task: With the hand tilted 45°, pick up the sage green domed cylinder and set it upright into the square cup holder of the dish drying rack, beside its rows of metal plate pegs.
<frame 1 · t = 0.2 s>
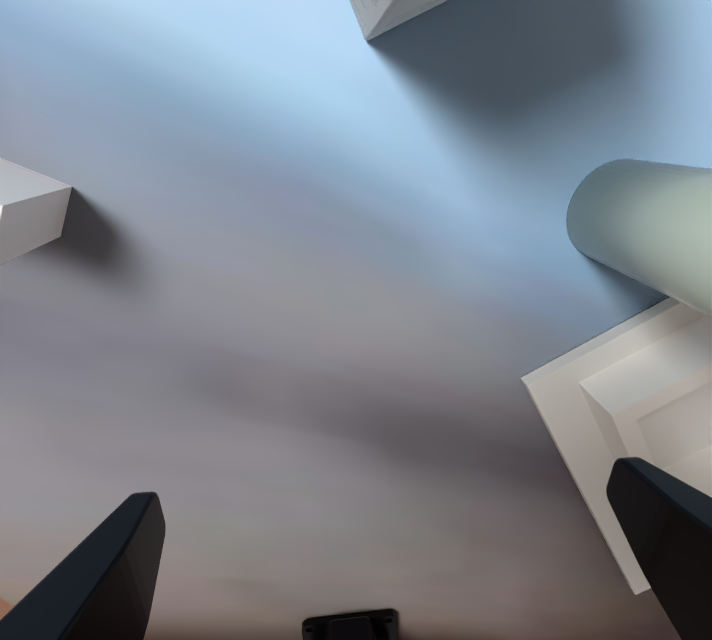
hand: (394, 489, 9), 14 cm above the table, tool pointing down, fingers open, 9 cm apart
sage green domed cylinder: (614, 211, 22), on the table
dish drying rack: (676, 395, 27), on the table
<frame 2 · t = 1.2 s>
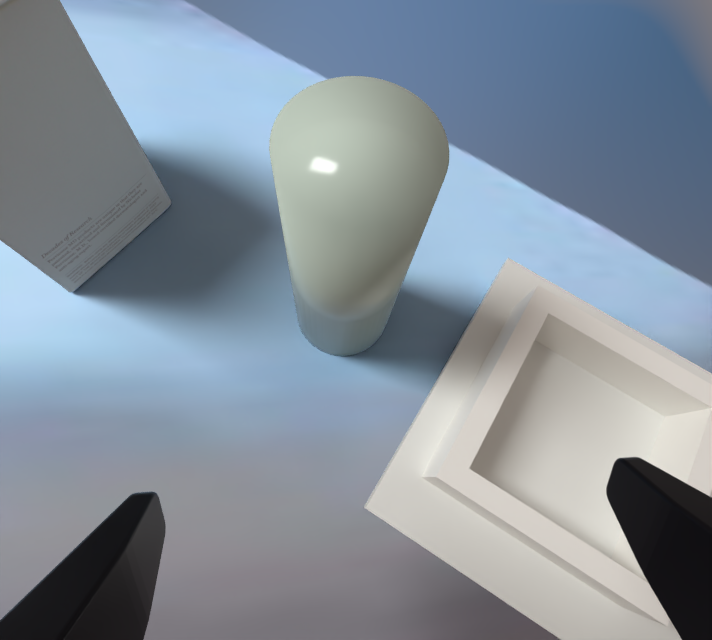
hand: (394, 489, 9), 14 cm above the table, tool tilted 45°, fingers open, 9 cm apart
sage green domed cylinder: (342, 312, 25), on the table
dish drying rack: (553, 443, 23), on the table
supplement box: (82, 212, 26), on the table
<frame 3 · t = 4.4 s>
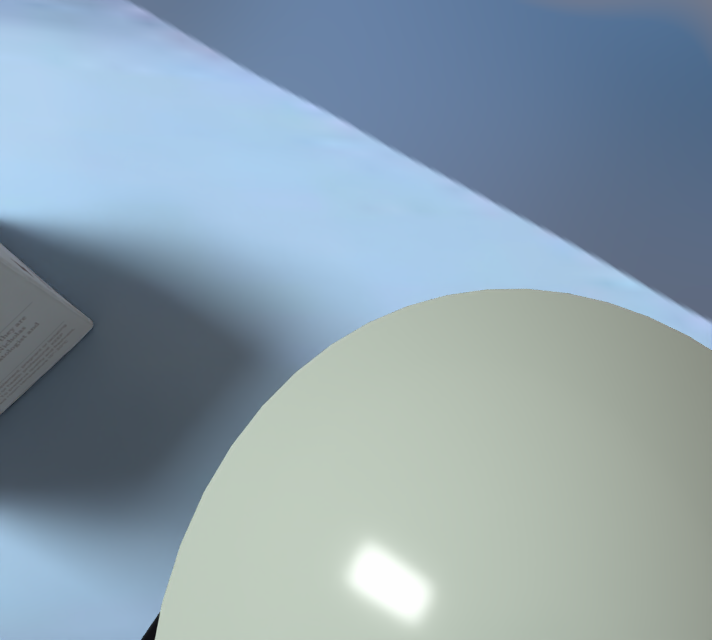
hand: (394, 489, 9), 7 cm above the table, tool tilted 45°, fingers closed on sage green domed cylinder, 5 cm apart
sage green domed cylinder: (367, 513, 15), on the table, touching gripper
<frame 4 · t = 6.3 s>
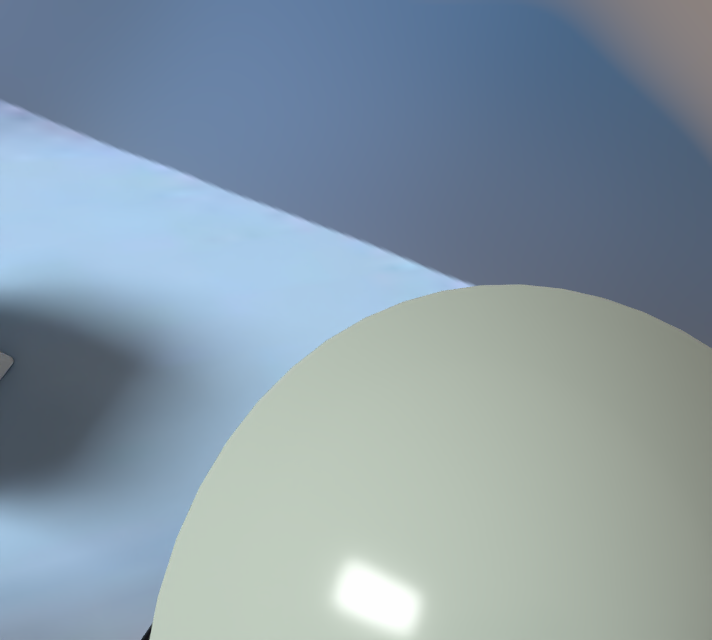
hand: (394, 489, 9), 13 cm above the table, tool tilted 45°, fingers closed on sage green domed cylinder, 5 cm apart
sage green domed cylinder: (366, 512, 15), point 7 cm above the table, touching gripper
when the fingers open (9 cm above the table, at t = 8.4 s): sage green domed cylinder drops 1 cm, resting on dish drying rack.
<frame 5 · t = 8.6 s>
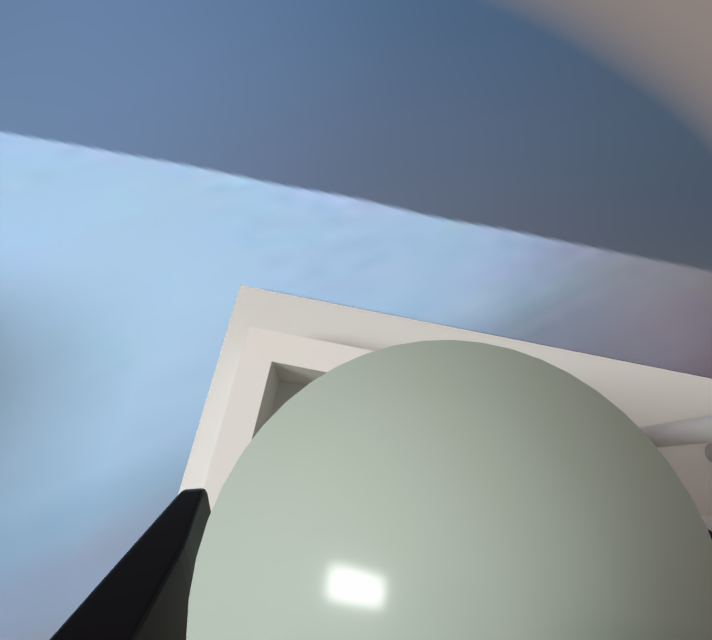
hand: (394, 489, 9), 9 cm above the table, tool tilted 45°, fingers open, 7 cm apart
sage green domed cylinder: (366, 512, 16), point 1 cm above the table, touching dish drying rack
dish drying rack: (362, 510, 17), on the table
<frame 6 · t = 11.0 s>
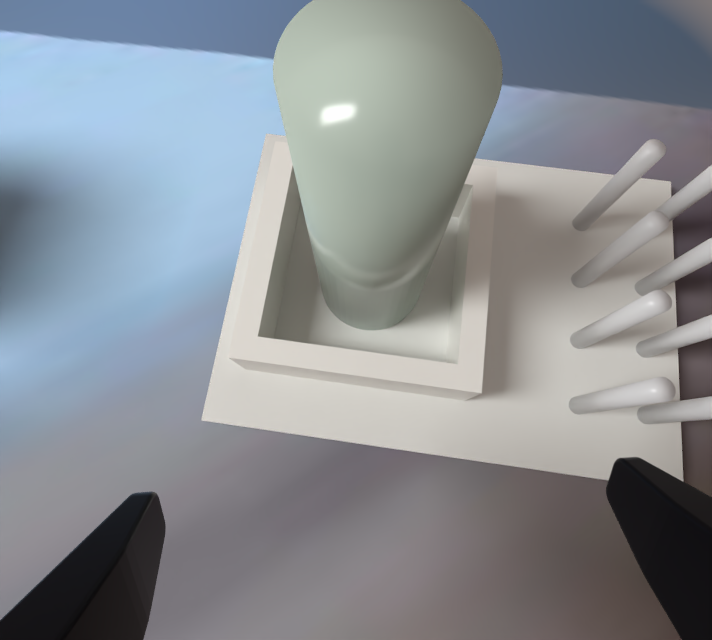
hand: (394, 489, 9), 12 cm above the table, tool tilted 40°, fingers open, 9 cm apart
sage green domed cylinder: (371, 282, 22), point 1 cm above the table, touching dish drying rack
dish drying rack: (368, 287, 23), on the table
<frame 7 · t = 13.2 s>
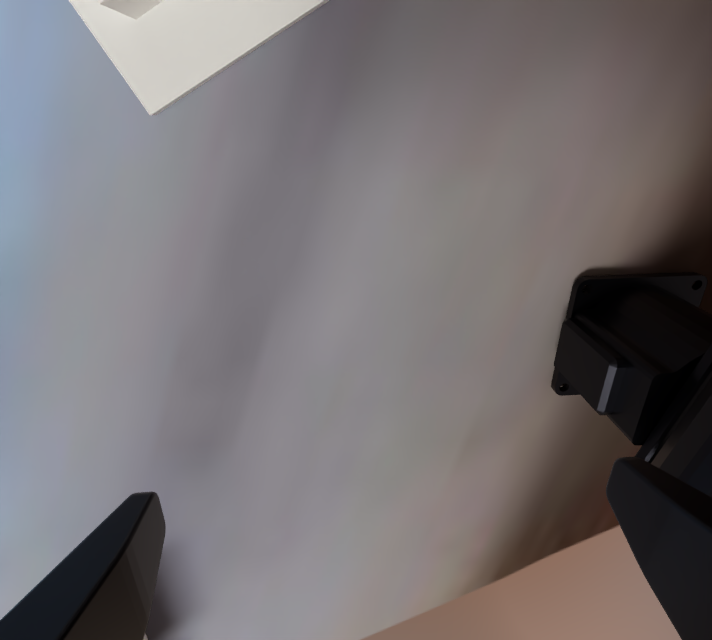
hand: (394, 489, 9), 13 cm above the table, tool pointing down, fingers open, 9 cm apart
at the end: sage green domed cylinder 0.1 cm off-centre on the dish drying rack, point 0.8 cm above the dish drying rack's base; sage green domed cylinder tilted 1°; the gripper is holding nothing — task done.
